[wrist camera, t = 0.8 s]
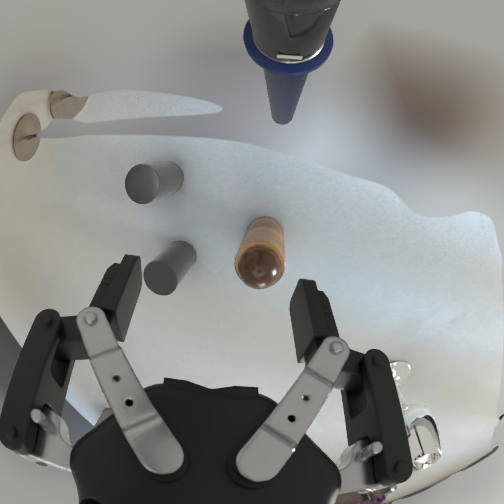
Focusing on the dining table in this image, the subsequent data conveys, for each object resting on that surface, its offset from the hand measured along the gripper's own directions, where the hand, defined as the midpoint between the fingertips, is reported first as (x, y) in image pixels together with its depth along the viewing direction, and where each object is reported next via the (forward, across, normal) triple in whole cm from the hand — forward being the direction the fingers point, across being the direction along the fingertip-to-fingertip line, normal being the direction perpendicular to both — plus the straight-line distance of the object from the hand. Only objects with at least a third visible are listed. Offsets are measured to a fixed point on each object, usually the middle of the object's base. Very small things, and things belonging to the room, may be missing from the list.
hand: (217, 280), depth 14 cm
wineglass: (+10, -34, +29) cm, 46 cm away
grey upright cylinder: (+21, +5, +16) cm, 27 cm away
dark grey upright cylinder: (+25, +8, +6) cm, 27 cm away
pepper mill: (+21, -6, +10) cm, 24 cm away
